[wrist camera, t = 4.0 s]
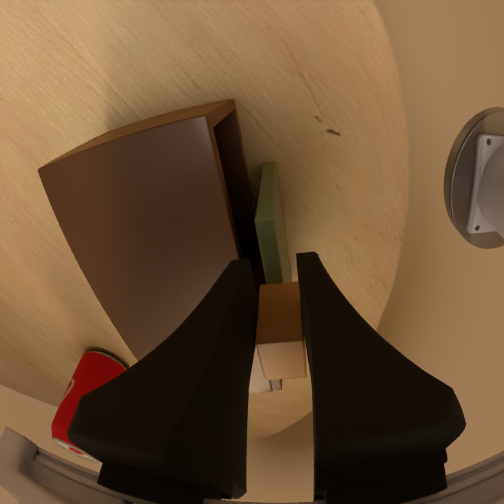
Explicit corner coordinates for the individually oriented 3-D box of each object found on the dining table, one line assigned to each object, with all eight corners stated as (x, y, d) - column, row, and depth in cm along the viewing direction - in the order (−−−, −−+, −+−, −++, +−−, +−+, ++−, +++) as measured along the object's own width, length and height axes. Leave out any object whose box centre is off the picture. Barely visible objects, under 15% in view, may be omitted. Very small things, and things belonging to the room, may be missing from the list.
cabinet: (245, 96, 14) (224, 110, 9) (283, 317, 23) (282, 391, 17) (106, 132, 15) (36, 169, 10) (179, 322, 24) (158, 389, 19)
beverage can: (78, 354, 30) (40, 436, 20) (97, 340, 27) (54, 436, 17) (117, 382, 32) (89, 463, 22) (142, 372, 30) (111, 466, 20)
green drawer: (287, 160, 16) (297, 270, 8) (301, 276, 20) (308, 409, 12) (258, 163, 16) (236, 275, 8) (277, 278, 20) (273, 410, 12)
